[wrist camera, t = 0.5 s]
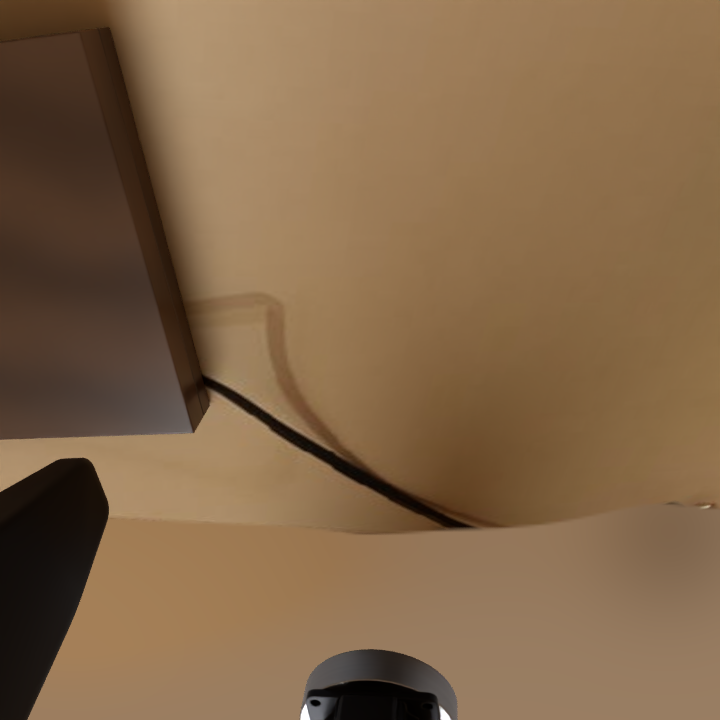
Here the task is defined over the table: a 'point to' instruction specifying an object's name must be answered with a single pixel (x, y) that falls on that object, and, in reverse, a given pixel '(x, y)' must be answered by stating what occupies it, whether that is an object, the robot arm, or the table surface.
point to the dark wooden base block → (84, 255)
